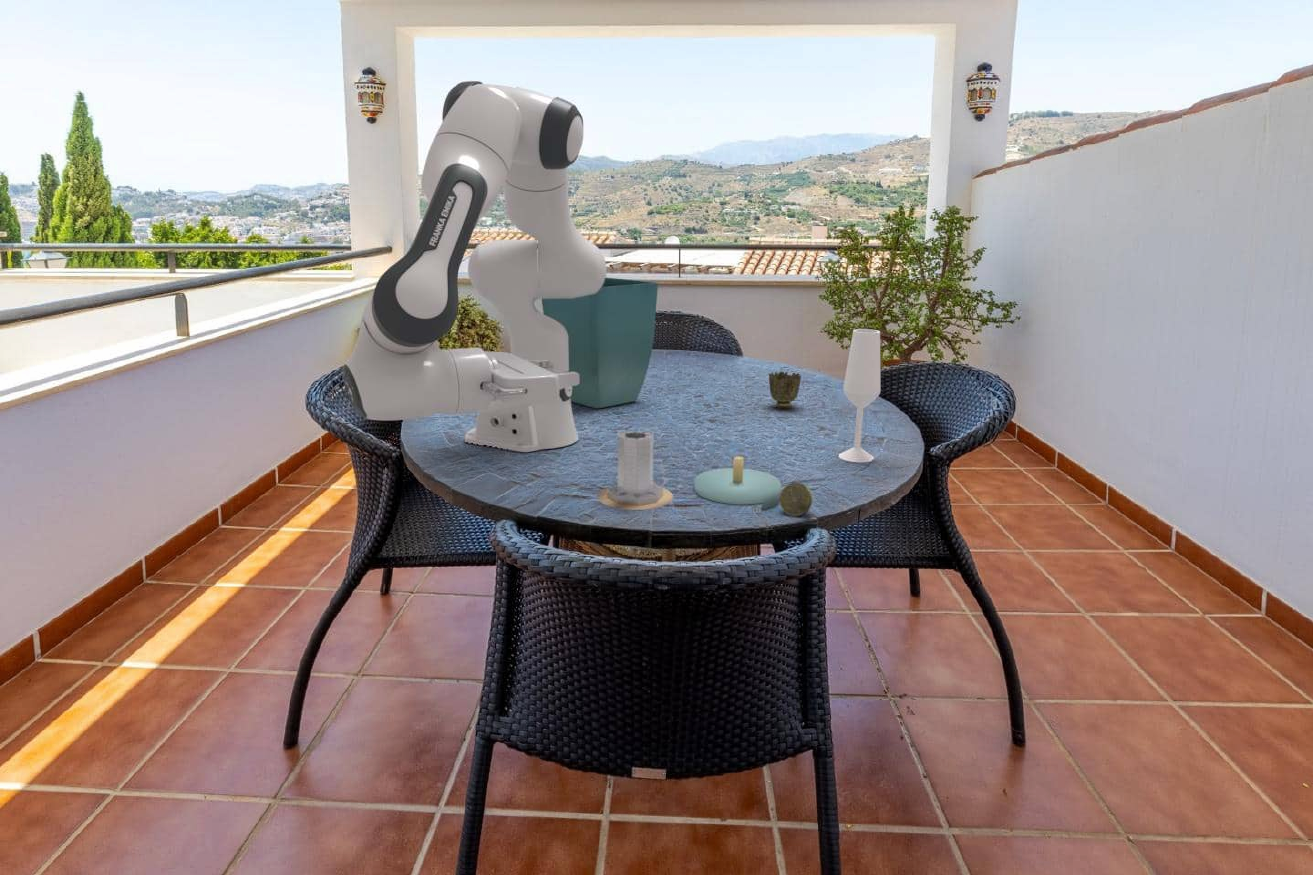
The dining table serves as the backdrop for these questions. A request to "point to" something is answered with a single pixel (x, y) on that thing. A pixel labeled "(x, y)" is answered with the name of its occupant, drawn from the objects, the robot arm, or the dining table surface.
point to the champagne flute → (862, 383)
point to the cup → (784, 388)
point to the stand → (607, 501)
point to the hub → (739, 486)
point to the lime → (796, 499)
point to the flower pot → (608, 339)
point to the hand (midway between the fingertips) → (564, 372)
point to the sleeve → (635, 470)
